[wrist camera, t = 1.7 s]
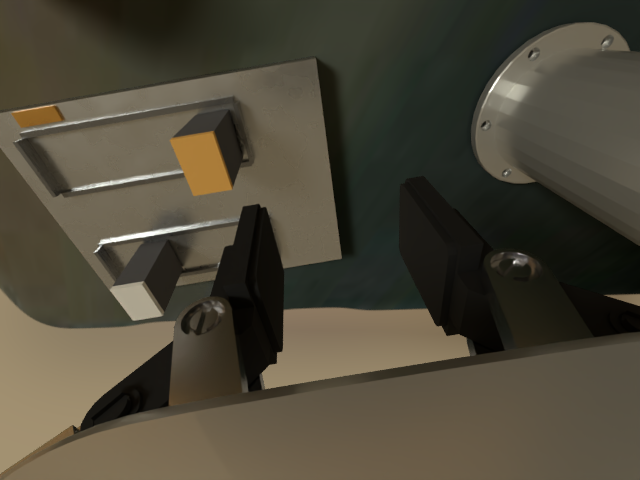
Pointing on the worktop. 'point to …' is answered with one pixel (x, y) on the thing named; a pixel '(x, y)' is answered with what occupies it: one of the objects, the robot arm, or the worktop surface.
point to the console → (167, 175)
